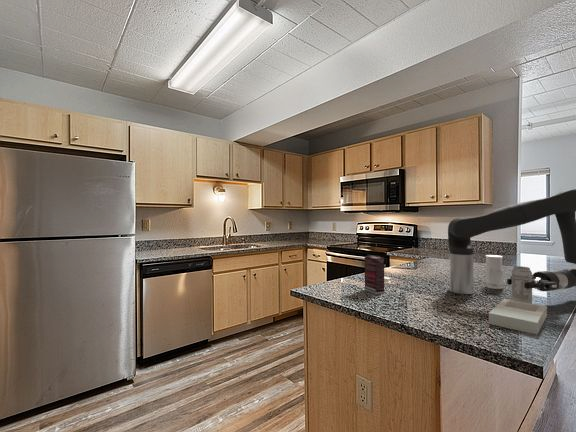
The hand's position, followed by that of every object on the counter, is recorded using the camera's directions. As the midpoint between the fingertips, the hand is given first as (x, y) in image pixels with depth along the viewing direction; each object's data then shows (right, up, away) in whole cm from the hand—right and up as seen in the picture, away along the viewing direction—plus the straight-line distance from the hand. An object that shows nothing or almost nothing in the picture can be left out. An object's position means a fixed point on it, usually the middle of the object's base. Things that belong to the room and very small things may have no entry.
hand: (516, 283), depth 110 cm
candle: (+13, -9, +30) cm, 34 cm away
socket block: (-9, -9, -12) cm, 18 cm away
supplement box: (-46, -9, +24) cm, 53 cm away
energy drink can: (+2, -9, +1) cm, 10 cm away
